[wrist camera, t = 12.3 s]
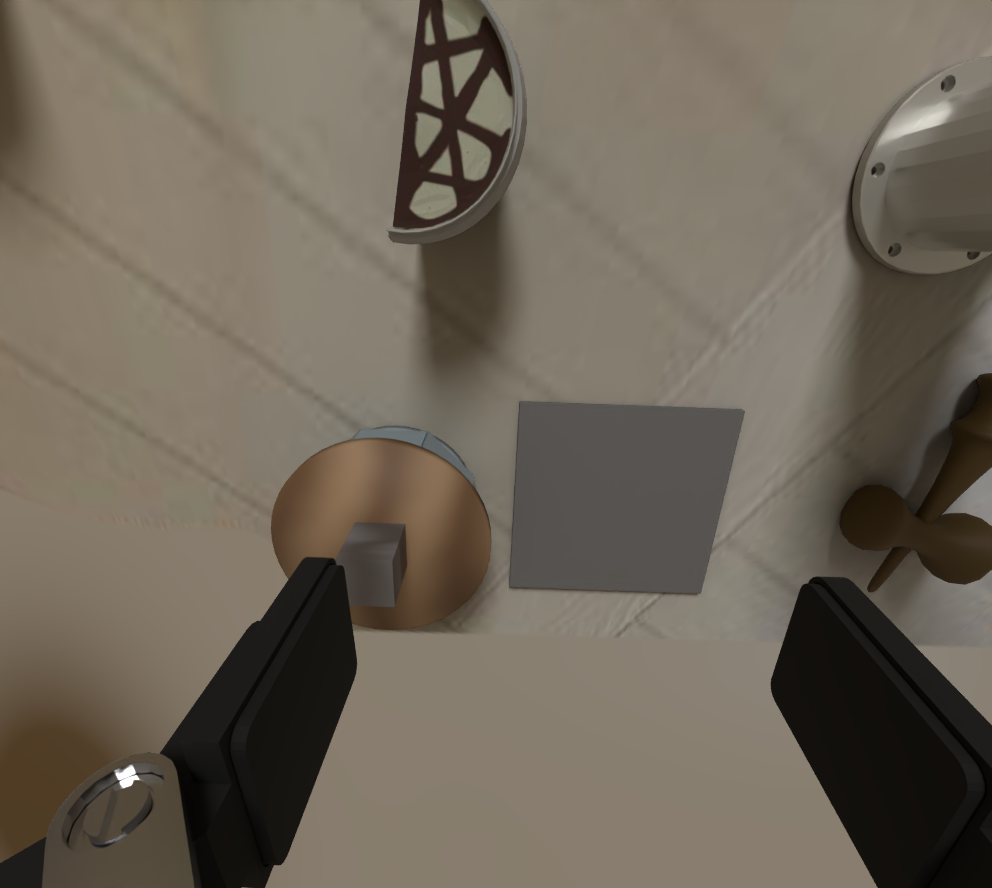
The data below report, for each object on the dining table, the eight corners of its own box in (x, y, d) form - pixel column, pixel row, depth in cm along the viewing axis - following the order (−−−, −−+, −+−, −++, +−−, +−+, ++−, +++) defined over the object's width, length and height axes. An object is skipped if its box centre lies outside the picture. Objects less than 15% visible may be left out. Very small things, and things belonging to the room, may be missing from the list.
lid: (494, 441, 33) (493, 476, 28) (488, 623, 39) (486, 679, 34) (261, 433, 33) (218, 467, 28) (291, 617, 39) (260, 672, 34)
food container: (499, 262, 35) (499, 267, 26) (415, 243, 35) (384, 241, 25) (540, 59, 30) (558, -25, 21) (444, 34, 30) (419, -63, 21)
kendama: (1041, 393, 39) (890, 586, 46) (939, 352, 38) (801, 556, 45) (1131, 414, 33) (944, 631, 40) (1014, 367, 32) (843, 597, 39)
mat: (741, 409, 39) (744, 411, 38) (698, 590, 46) (700, 593, 45) (519, 401, 39) (520, 403, 38) (509, 583, 46) (509, 586, 45)
